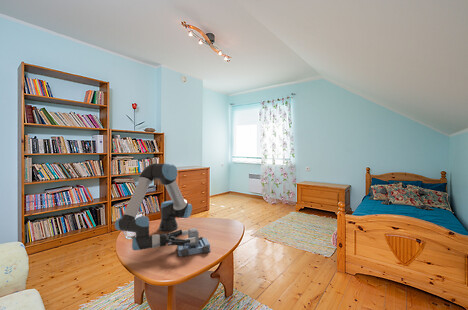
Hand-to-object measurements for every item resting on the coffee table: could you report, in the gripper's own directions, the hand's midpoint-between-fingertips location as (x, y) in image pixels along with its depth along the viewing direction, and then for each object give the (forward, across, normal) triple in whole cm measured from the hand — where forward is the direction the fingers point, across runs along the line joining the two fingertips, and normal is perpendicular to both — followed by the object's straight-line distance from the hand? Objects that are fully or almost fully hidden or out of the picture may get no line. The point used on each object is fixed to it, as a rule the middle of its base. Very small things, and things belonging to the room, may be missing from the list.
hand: (193, 235), depth 140 cm
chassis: (0, 0, -9) cm, 9 cm away
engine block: (0, 0, -8) cm, 8 cm away
